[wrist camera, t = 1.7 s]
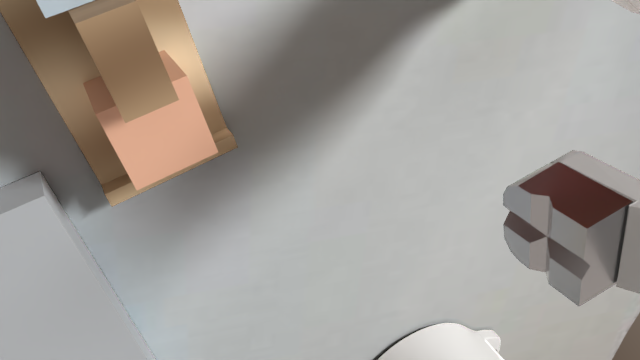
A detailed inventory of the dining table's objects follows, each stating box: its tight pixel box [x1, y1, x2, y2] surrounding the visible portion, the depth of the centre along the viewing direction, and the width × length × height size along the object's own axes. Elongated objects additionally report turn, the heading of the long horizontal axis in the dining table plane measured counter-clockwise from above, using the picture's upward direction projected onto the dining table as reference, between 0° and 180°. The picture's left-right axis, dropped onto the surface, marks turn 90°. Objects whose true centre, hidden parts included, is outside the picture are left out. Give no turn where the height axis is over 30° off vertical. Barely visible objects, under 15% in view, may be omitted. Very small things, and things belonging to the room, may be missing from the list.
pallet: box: [0, 0, 238, 206], centre depth 23 cm, size 16×7×7 cm, turn 14°
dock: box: [0, 171, 156, 360], centre depth 29 cm, size 17×11×2 cm, turn 13°
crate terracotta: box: [83, 50, 218, 190], centre depth 26 cm, size 4×4×4 cm
